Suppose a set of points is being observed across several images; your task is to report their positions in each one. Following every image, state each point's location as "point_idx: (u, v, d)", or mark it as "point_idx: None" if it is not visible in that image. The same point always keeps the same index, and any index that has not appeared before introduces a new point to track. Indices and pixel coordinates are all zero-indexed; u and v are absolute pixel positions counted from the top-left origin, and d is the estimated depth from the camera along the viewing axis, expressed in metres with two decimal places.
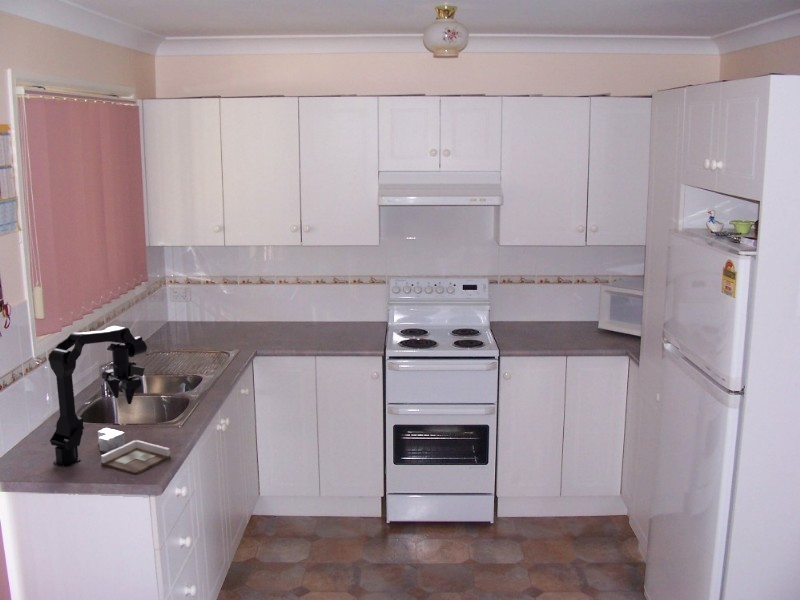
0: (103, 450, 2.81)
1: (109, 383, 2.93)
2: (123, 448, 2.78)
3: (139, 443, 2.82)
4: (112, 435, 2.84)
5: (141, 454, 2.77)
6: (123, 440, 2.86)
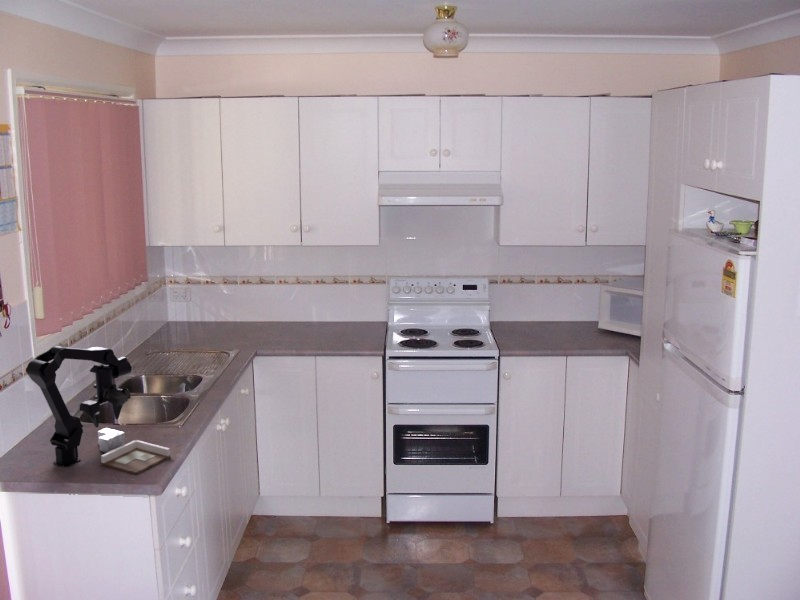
0: (103, 450, 2.81)
1: None
2: (123, 448, 2.78)
3: (139, 443, 2.82)
4: (112, 435, 2.84)
5: (141, 454, 2.77)
6: (123, 440, 2.86)
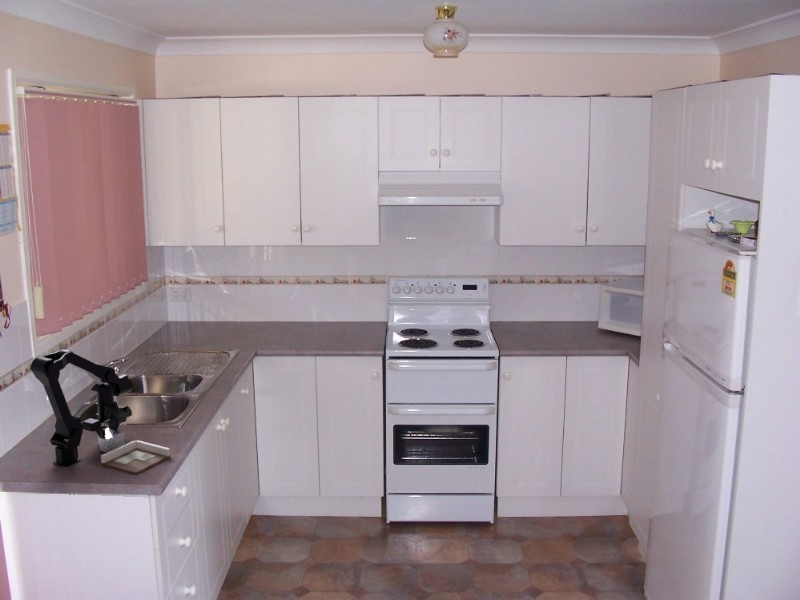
0: (103, 450, 2.81)
1: (108, 421, 2.90)
2: (123, 448, 2.78)
3: (139, 443, 2.82)
4: (112, 435, 2.84)
5: (141, 454, 2.77)
6: (123, 440, 2.86)
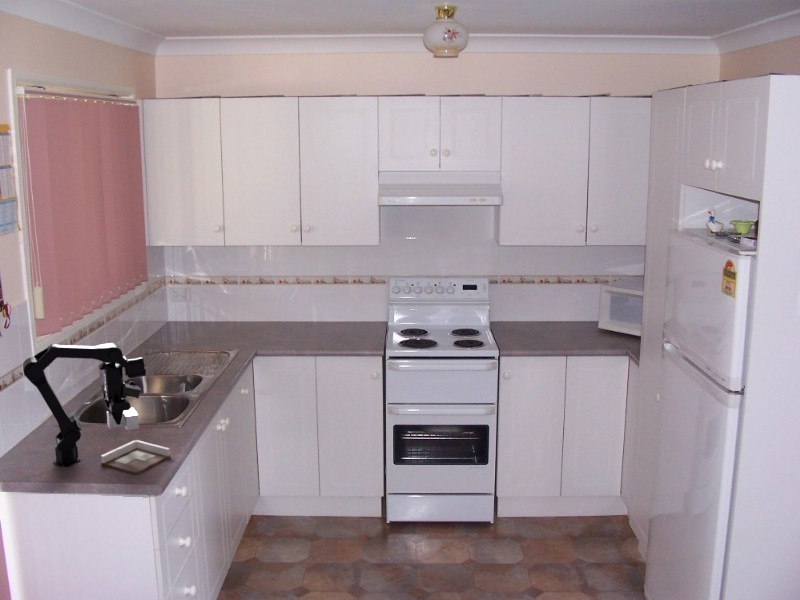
0: (132, 428, 2.75)
1: (107, 404, 2.78)
2: (123, 448, 2.78)
3: (139, 443, 2.82)
4: (130, 412, 2.78)
5: (141, 454, 2.77)
6: None
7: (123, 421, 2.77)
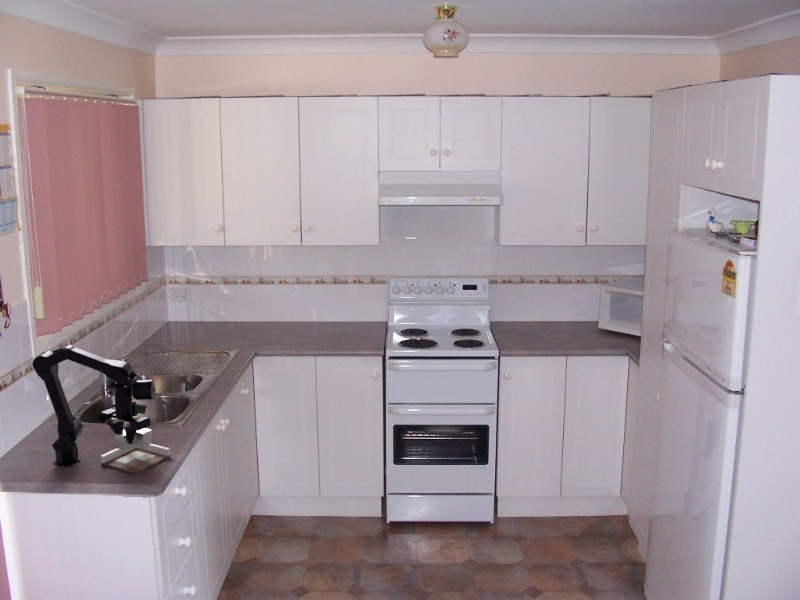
0: (147, 444, 2.73)
1: (114, 426, 2.70)
2: None
3: None
4: None
5: (141, 454, 2.77)
6: None
7: (134, 440, 2.73)
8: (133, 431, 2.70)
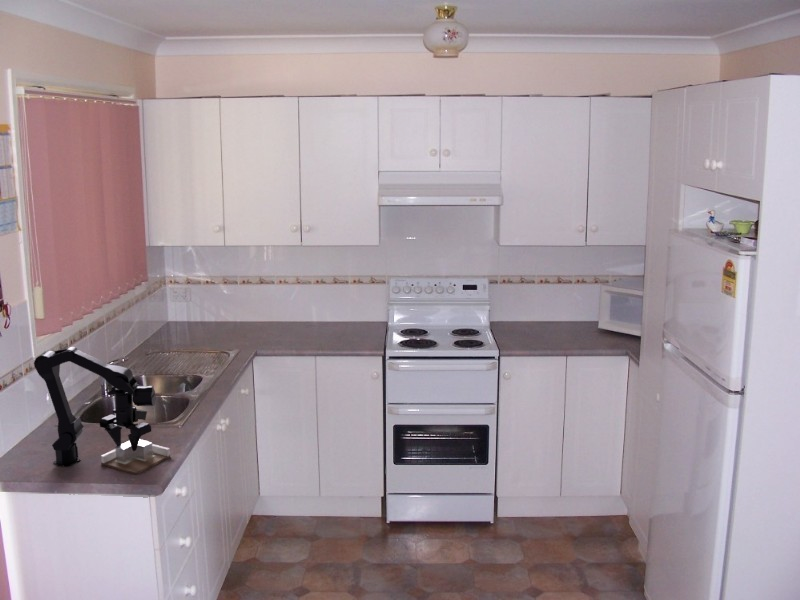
0: (148, 456, 2.74)
1: (112, 432, 2.72)
2: None
3: None
4: (140, 442, 2.75)
5: None
6: None
7: (134, 452, 2.74)
8: (137, 438, 2.70)
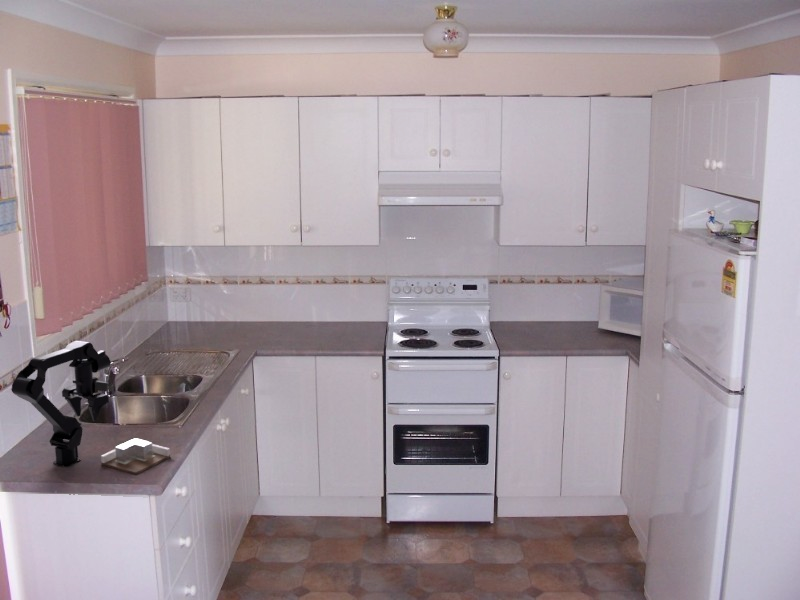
0: (148, 456, 2.74)
1: (71, 401, 2.79)
2: None
3: None
4: (140, 442, 2.75)
5: None
6: None
7: (134, 452, 2.74)
8: (97, 409, 2.76)
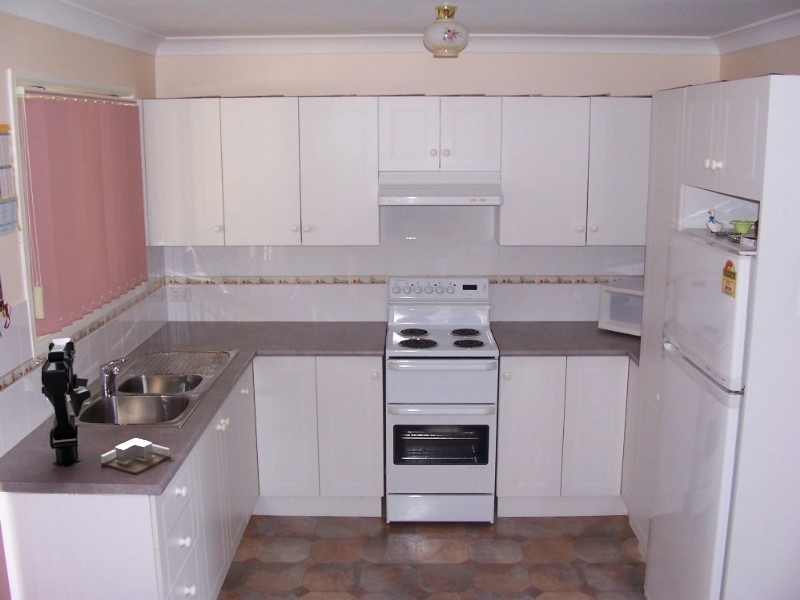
0: (148, 456, 2.74)
1: (51, 397, 2.82)
2: None
3: None
4: (140, 442, 2.75)
5: None
6: None
7: (134, 452, 2.74)
8: (79, 404, 2.80)
